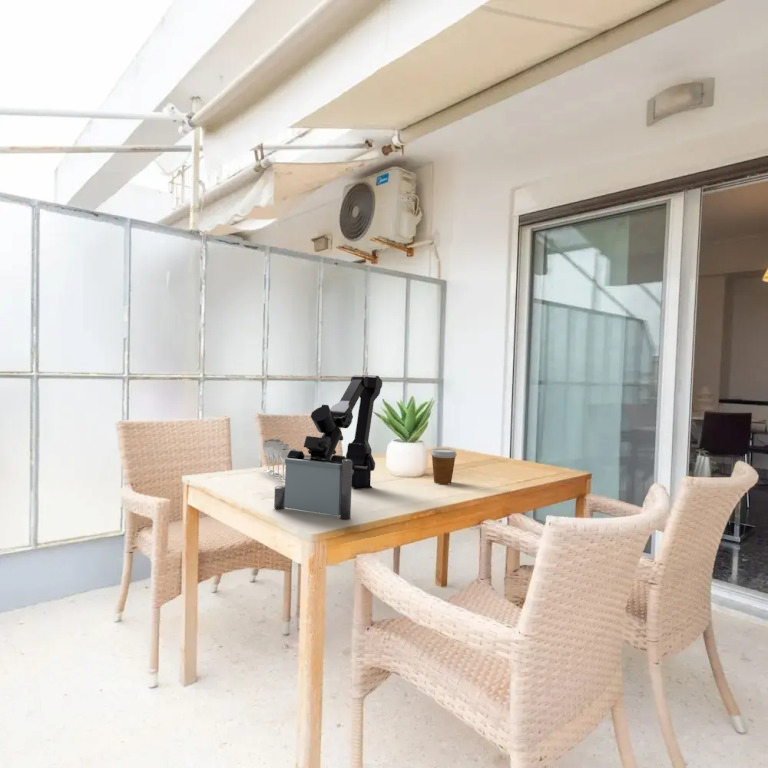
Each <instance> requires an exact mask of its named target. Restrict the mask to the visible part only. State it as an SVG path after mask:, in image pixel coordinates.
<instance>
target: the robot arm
mask: <svg viewBox="0 0 768 768" xmlns="http://www.w3.org/2000/svg"><path fill="white" fill-rule="evenodd" d="M382 388H383V379H382V378H380V376H379V375H368V374H362V375H360V374H359V375H358V374H356V375H355V374H354V375H352V376H351V378H350V383H349V384H348V386H347V388H346V389H345V391H344V393H343V395H342V397H341V398H340V400H339V402H338V403H335V404H333V405H332V406H331V407H330V406H329V404H322V405H321V406H320V407H317V408H316V409H315V410H313V411H312V412H311V414H310V418H311V420H312V422H313V424H314V426H315V427H316V429H317V430H316V431H318V432H319V433H320V436H318V437H317V436H310V435H306V436H305V440H304V444H303V446H302V447H303V448H305V449H307V453H308V454H304V452H303V451H302V450H297V449H296V450H291V451H290V452H289V453H288V455H287V457H288V458H293V459H302V460H310V461H319V462H328V463H337V464H342V460H344V459H350V460H352V485H351V488H353V489H354V490H358V489H360V490H361V489H372V488H373V486H372V485H371V479H372V478H371V477H372V476H371V475H372V471H375V469H376V461H375V459H374V457H373V455H372V451H373V450H372V448H371V445H370V442H369V440H370V439H369V438H370V431H371V423H372V417H373V412H374V411H373V410H374V403H375V401H376V399H377V398H378V397H379V396H380V393H381V389H382ZM359 399H360V400H359ZM358 401H359V407H358V413H357V418H356V419H357V421H356V425H355V426H356V428H355V433H354V438H353V440H352V442H349V443H348V444H347V449H346V453H345V455H337V451H336V447H337V445H339V444H338V443H339V441H340V442H341V441H343V440H344V436H343V433H342V429H349V427H350V426H351V424H352V422H353V418H354V414H353V409H354V408H355V406H356V404H357V402H358Z"/></svg>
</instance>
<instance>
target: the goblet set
mask: <svg viewBox="0 0 768 768" xmlns="http://www.w3.org/2000/svg"><path fill="white" fill-rule="evenodd" d="M262 450H263V452H264V454H265V456H266V457H267V462H268V465H267V467H268V469H265V470H263V471H264V472H263V473H267V472H270V473H267V474H270V475H269V476H275V477H282V476H283V478H279V479H280V480H285V478H284V477H285V476H284V475H285V466H286V463H285V459H287V458H288V457H287V455H288V453H289V452H290V451H291V450H296V451H297V449H296V448H289V444H288V443H284V441H282V440H281V439H279V438H278V439H273V438H271V439H270V438H269V439H267V440H263V444H262ZM271 461H272V469H270V463H271ZM275 461H276V462H277V472H275ZM280 462H281V465H282V475H280V473H279V470H280ZM277 474H278V475H277Z"/></svg>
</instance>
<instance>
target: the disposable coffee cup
mask: <svg viewBox="0 0 768 768" xmlns="http://www.w3.org/2000/svg"><path fill="white" fill-rule="evenodd" d="M430 455H431V461H432V472H433V475H432V476H433V482H434V483H435V484H437V483H440V484H439V485H449V484H448V483H451V484H452V481H453V473H454V469H455V460H456V458H457V451H456V450H455V449H453V448H451V449H450V448H433V449H432V450H431V452H430Z"/></svg>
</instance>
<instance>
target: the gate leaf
mask: <svg viewBox="0 0 768 768" xmlns="http://www.w3.org/2000/svg"><path fill="white" fill-rule="evenodd" d="M285 463H286V465H285V470H284V475H285V476H284V477H285V478H284V479H285V481H284V482H285V485H284V487H285V508H284V509H291V510H297V511H304V512H309V513H316V514H322V515H323V514H324V515H329V516H336V517H340V510H341V477H342V464H337V463H328V462H319V461H310V460H302V459H293V458H287V459H285Z"/></svg>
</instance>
